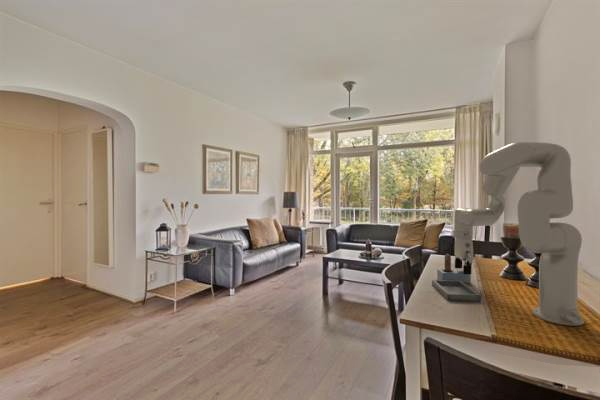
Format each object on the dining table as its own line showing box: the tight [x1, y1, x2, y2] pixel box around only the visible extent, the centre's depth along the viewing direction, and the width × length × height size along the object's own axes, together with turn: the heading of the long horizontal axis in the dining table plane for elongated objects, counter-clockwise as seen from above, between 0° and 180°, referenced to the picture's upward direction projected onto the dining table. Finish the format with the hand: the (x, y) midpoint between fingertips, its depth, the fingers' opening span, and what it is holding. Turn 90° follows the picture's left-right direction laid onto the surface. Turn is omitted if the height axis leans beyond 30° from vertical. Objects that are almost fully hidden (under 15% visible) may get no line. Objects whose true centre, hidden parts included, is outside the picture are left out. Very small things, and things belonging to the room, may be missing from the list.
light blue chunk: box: [436, 268, 472, 284], centre depth 136 cm, size 7×13×5 cm, turn 82°
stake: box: [444, 253, 452, 272], centre depth 137 cm, size 3×3×13 cm
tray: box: [431, 279, 482, 303], centre depth 121 cm, size 19×12×2 cm, turn 172°
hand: (462, 271), depth 136 cm, fingers open, 9 cm apart
